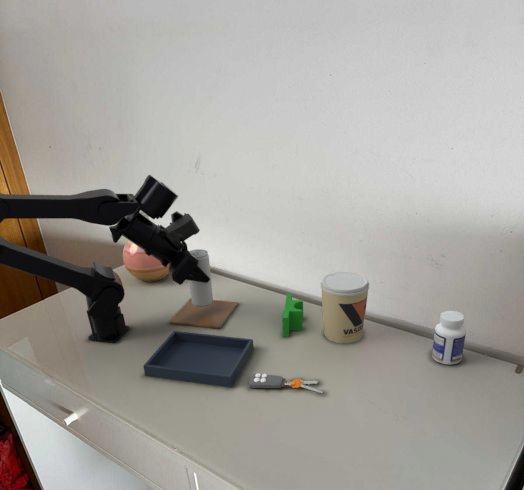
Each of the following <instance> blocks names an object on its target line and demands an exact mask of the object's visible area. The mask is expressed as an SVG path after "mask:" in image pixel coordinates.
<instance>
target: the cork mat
mask: <svg viewBox="0 0 524 490" xmlns="http://www.w3.org/2000/svg"><path fill="white" fill-rule="evenodd" d="M238 305H239V302H238V301H228V300H227V301H226V300H217V299H216V300H215V299H213V302H212V304H211V305H209V306H207V307H196V306H194V305H193V304H192V300H191V298H190V299H189V300H188V301H187V302H186V303H185V305H183V307H182V308H180V310H179V311H178V312H177V313H176V314H175V315H174V316H173V317H172V318H171V319H170V321H169V324H172V325H179V326H187V327H190V326H191V327H200V328H209V329H219V330H221V328H222V327H223V326H224V324H225V323H226V321H227V320H228V319H229V317H230V316H231V315H232V313H233V312H234V310H235V309H236V308H237V307H238Z"/></svg>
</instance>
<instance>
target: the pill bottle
mask: <svg viewBox="0 0 524 490" xmlns="http://www.w3.org/2000/svg"><path fill="white" fill-rule="evenodd" d="M464 323H465V316H464V314H463V313H461V312H459V311H456V310H445V311H443V312H442V313H440V317H439V323H437V324H436V325H435V328H434V335H433V342H432V350H431V356H432V359H433V360H434V361H435V362H437V363H439V364H443V365H448V366H450V365H451V366H452V365H456V364H459V363H460V362H462V360H463V352H464V347H465V340H466V336H467V329H466V327H465V325H464Z"/></svg>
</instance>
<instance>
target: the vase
mask: <svg viewBox="0 0 524 490" xmlns="http://www.w3.org/2000/svg"><path fill="white" fill-rule="evenodd" d="M139 213H141V214H142V215H144V216H145V217H146V218H148V219H149V220H150V217H149V216H148V215H146V214H145V213H144V212H143V211H140V212H139ZM122 262H123V265H124V268H125V269H126V271H127V272H128V273H129V274H130V275H131V276H133V277H134V278H136V279H138V280H140V281H142V282H144V283H145V282H147V283H153V282H158V281H161V280H163V279H164V278H166V277H167V276H168V275H169V267H170V265H169V264H168V265H167V266H166V267H165V266H163V265H162V264H161V262H160V261H159V260H158V259H156V258H155V257H153V256H152V255H150V256H148V255H147V254H145V252H144V250H143V249H141V248H140V247H138V246H137V245H135V244H134V243H132V242H131V241H130V240H128V239H126V242H125V244H124V246H123V249H122Z"/></svg>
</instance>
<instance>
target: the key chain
mask: <svg viewBox="0 0 524 490" xmlns="http://www.w3.org/2000/svg"><path fill="white" fill-rule="evenodd" d="M318 383H319V381H318V380H302V379H301V378H295V379H293V380H292V381H289V380H288V381H287V379H286V378H285V377H283V376H282V375H273V374H267V373H259V372H258V373H253V374H251V376H250V378H249V383H248V384H249V387H250V388H252V389H281V388H282V387H283V388H284V387H285V386H290V387H291V388H293V389H298V388H303V389H307V390H309V391H313V392H316V393H319V394H323V391H322V390H320V389H317V388H314V387H311V386H310V385H317V384H318Z"/></svg>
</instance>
